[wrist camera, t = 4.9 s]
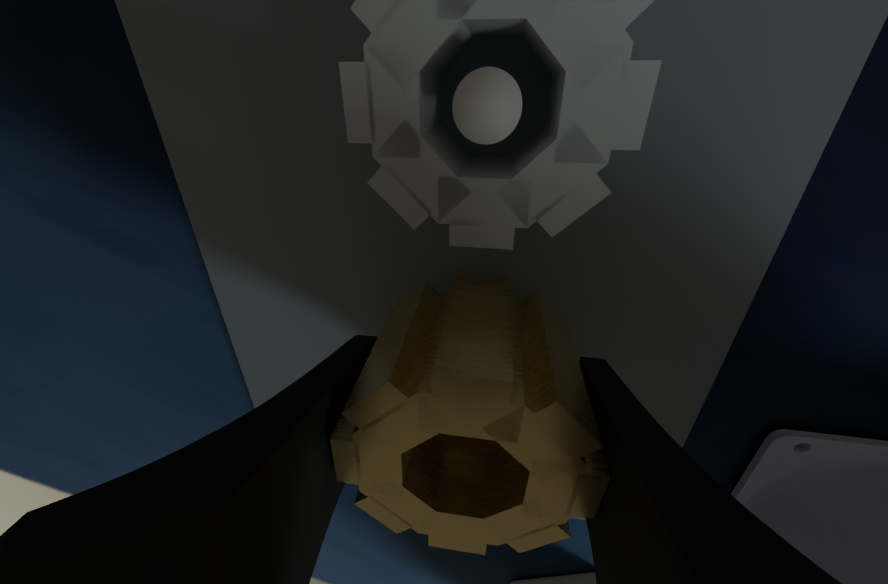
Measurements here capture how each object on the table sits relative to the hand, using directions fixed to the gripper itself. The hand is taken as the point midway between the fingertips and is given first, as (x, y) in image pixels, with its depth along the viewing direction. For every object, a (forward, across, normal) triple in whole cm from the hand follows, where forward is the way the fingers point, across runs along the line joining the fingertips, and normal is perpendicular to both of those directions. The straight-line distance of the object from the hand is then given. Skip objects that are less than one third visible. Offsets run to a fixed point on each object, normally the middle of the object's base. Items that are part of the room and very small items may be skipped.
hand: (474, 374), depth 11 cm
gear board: (+4, +1, -2) cm, 4 cm away
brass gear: (+1, 0, 0) cm, 1 cm away
